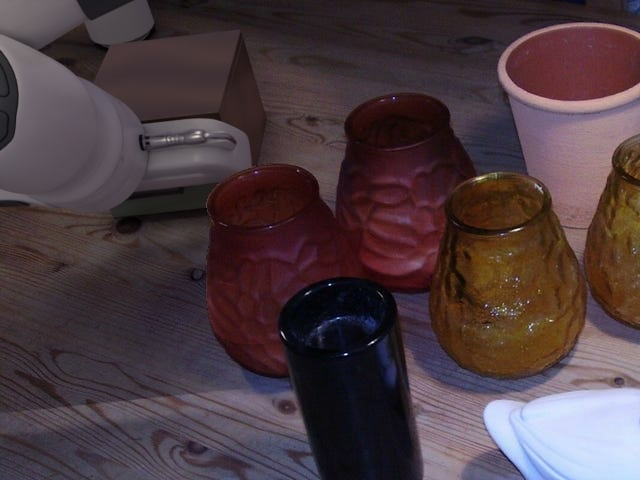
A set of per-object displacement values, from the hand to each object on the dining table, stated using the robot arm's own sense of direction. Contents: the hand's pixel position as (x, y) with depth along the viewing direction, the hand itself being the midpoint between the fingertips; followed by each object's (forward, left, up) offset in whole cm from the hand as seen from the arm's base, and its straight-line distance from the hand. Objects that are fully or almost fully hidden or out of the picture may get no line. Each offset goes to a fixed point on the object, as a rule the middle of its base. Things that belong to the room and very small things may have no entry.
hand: (151, 181), depth 84 cm
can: (-13, +40, -6) cm, 42 cm away
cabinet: (0, +11, -6) cm, 12 cm away
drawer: (0, +7, -5) cm, 9 cm away
